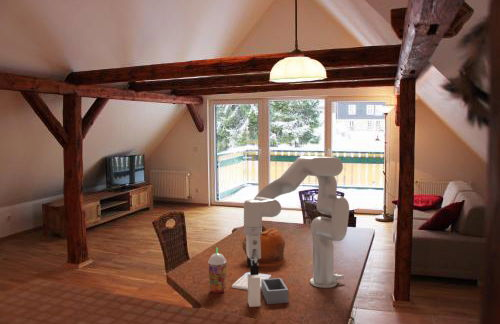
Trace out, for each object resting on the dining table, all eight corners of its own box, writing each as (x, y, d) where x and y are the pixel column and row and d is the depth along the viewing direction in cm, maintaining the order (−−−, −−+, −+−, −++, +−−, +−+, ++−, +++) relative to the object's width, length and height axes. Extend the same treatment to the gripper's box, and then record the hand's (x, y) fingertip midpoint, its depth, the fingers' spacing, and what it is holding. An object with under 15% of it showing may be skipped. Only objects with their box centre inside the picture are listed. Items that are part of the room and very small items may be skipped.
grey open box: (281, 289, 177) (280, 277, 176) (288, 302, 163) (288, 289, 163) (261, 291, 175) (261, 279, 175) (267, 304, 162) (267, 291, 161)
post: (258, 301, 164) (258, 273, 164) (260, 306, 160) (260, 277, 159) (248, 302, 164) (247, 274, 163) (249, 306, 159) (249, 278, 159)
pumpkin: (236, 262, 217) (236, 222, 215) (261, 251, 237) (261, 215, 236) (271, 270, 204) (270, 227, 202) (294, 257, 224) (293, 219, 223)
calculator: (231, 288, 180) (230, 284, 180) (246, 274, 199) (246, 271, 199) (258, 292, 175) (258, 288, 175) (271, 277, 194) (271, 274, 194)
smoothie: (205, 293, 174) (204, 249, 173) (213, 286, 182) (212, 244, 181) (222, 295, 171) (221, 250, 170) (229, 288, 179) (229, 245, 178)
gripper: (265, 234, 152) (265, 277, 153) (258, 225, 169) (257, 264, 170) (246, 235, 151) (246, 278, 152) (241, 225, 168) (240, 264, 169)
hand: (252, 270), depth 161 cm, fingers open, 9 cm apart
